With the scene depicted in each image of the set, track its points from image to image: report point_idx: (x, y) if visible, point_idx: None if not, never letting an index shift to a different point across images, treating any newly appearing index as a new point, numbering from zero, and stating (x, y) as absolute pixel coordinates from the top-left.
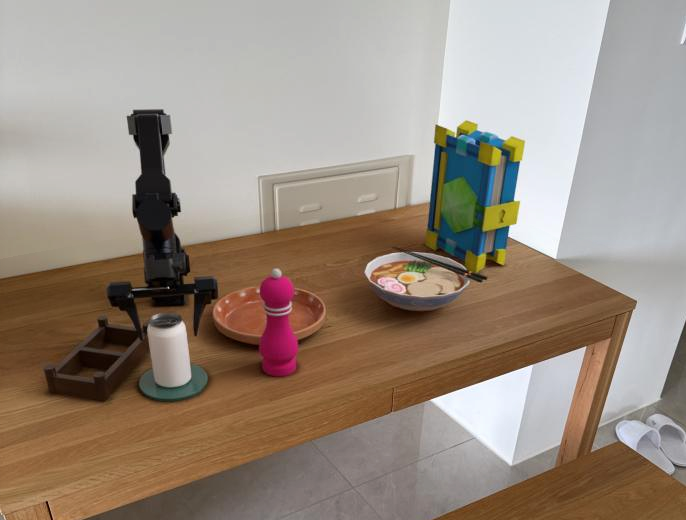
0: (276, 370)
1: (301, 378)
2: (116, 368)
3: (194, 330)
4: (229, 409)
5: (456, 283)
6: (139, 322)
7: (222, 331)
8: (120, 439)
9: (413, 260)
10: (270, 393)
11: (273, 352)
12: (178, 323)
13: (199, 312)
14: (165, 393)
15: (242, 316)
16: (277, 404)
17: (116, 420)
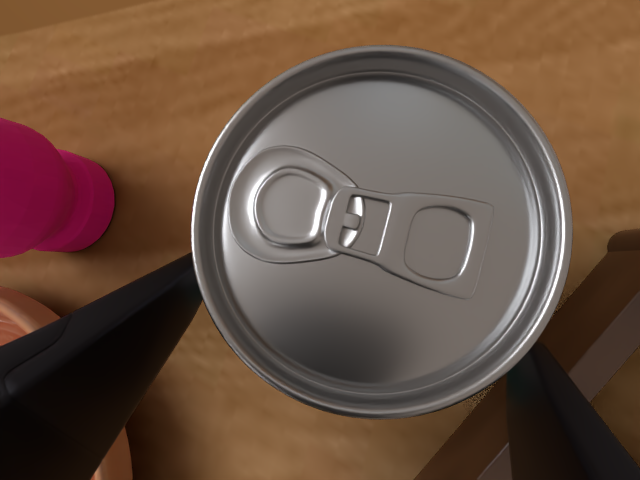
0: (79, 156)
1: (51, 133)
2: (605, 328)
3: (190, 263)
4: (263, 55)
5: None
6: (574, 476)
7: (121, 451)
8: (605, 3)
9: None
10: (143, 93)
11: (11, 126)
12: (255, 141)
13: (45, 328)
14: None
15: None
16: (148, 39)
17: (601, 105)
